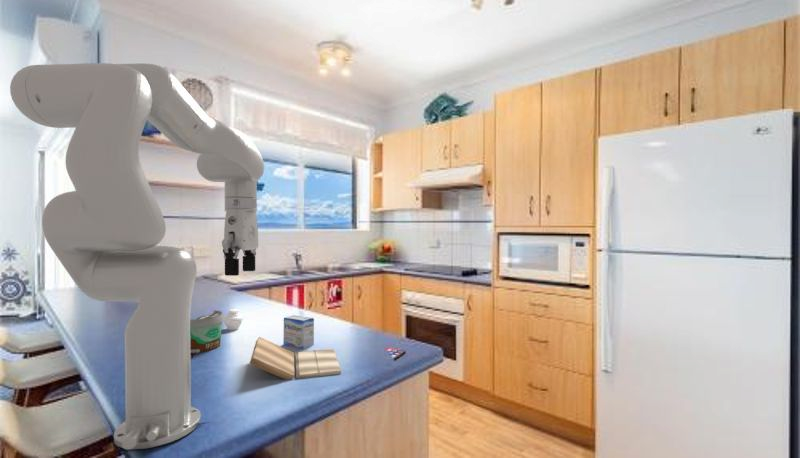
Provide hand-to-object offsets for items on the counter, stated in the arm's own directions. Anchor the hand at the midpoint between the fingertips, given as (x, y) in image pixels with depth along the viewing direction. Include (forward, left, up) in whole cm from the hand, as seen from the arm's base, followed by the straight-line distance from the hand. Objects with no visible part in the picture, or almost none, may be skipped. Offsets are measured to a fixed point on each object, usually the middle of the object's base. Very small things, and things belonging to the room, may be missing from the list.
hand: (240, 273), depth 96 cm
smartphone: (-6, -35, -24) cm, 43 cm away
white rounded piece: (+36, +7, -23) cm, 43 cm away
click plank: (-7, -8, -21) cm, 23 cm away
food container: (+14, +10, -23) cm, 29 cm away
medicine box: (+10, -14, -23) cm, 29 cm away
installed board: (-7, -18, -23) cm, 30 cm away
